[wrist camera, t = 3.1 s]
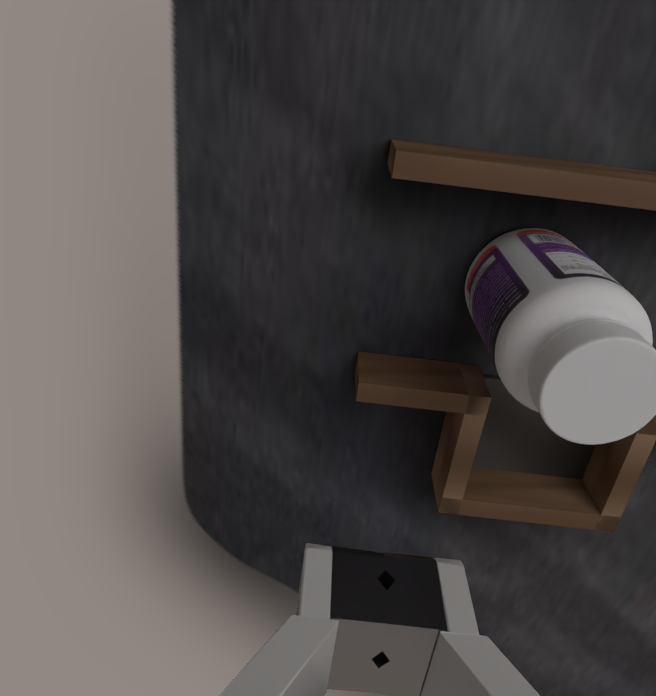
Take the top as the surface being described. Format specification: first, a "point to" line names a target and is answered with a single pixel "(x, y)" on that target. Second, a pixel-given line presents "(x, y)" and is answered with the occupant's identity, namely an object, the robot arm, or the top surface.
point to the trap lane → (489, 391)
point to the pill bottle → (564, 336)
